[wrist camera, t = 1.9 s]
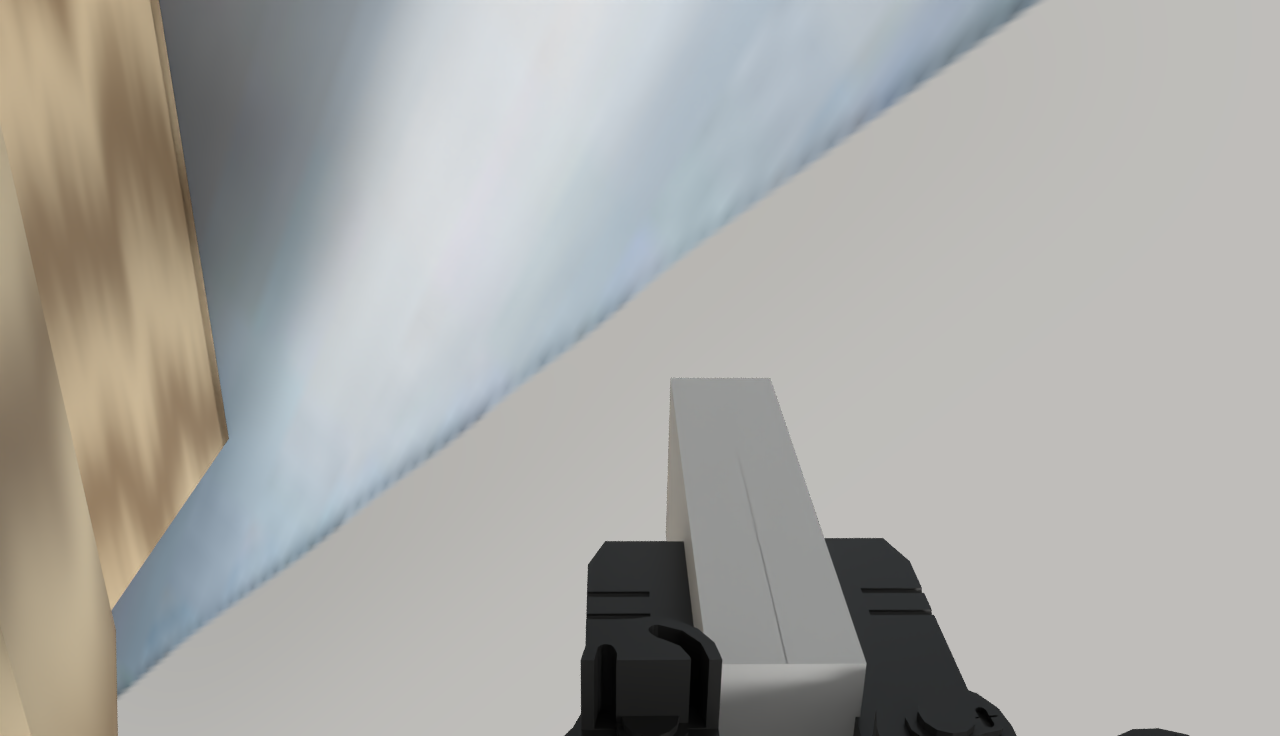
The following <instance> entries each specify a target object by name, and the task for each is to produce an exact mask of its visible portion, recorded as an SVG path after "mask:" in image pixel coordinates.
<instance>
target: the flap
mask: <svg viewBox="0 0 1280 736" xmlns="http://www.w3.org/2000/svg"><path fill="white" fill-rule="evenodd" d="M117 725H118V724H117V672H116V629H115V625H114V621H113V616H112V612H111V607H110V603H109V599H108V594H107V590H106V585H105V581H104V577H103V572H102V568H101V563H100V559H99V555H98V550H97V546H96V541H95V537H94V533H93V528H92V524H91V519H90V515H89V511H88V506H87V502H86V497H85V493H84V489H83V484H82V480H81V475H80V471H79V467H78V462H77V458H76V453H75V449H74V445H73V440H72V436H71V431H70V427H69V423H68V418H67V414H66V409H65V405H64V401H63V396H62V392H61V387H60V383H59V379H58V374H57V370H56V365H55V361H54V357H53V352H52V348H51V343H50V339H49V335H48V330H47V326H46V321H45V317H44V313H43V308H42V304H41V299H40V295H39V291H38V286H37V282H36V277H35V273H34V269H33V264H32V260H31V255H30V251H29V247H28V242H27V238H26V233H25V229H24V225H23V220H22V216H21V211H20V207H19V203H18V198H17V194H16V189H15V185H14V181H13V176H12V172H11V167H10V163H9V159H8V154H7V150H6V145H5V141H4V137H3V132H2V128H1V124H0V736H118V728H117V727H118V726H117Z"/></svg>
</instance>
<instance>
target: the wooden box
mask: <svg viewBox="0 0 1280 736" xmlns="http://www.w3.org/2000/svg"><path fill="white" fill-rule="evenodd" d="M0 124H1V128H2V132H3V137H4V141H5V145H6V150H7V154H8V159H9V163H10V167H11V172H12V176H13V181H14V185H15V189H16V194H17V198H18V203H19V207H20V211H21V216H22V220H23V225H24V229H25V233H26V238H27V242H28V247H29V251H30V255H31V260H32V264H33V269H34V273H35V277H36V282H37V286H38V291H39V295H40V299H41V304H42V308H43V313H44V317H45V321H46V326H47V330H48V335H49V339H50V343H51V348H52V352H53V357H54V361H55V365H56V370H57V374H58V379H59V383H60V387H61V392H62V396H63V401H64V405H65V409H66V414H67V418H68V423H69V427H70V431H71V436H72V440H73V445H74V449H75V453H76V458H77V462H78V467H79V471H80V475H81V480H82V484H83V489H84V493H85V497H86V502H87V506H88V511H89V515H90V519H91V524H92V528H93V533H94V537H95V541H96V546H97V550H98V555H99V559H100V563H101V568H102V572H103V577H104V581H105V585H106V590H107V594H108V599H109V603H110V607H111V610H112V609H113V607H114V606H115V604H116V603H117V601H118V600H119V598H120V597H121V595H122V594H123V593H124V591H125V590H126V588H127V587H128V585H129V584H130V582H131V581H132V579H133V578H134V576H135V575H136V574H137V572H138V571H139V569H140V568H141V566H142V565H143V563H144V562H145V560H146V559H147V557H148V556H149V555H150V553H151V552H152V550H153V549H154V547H155V546H156V544H157V543H158V541H159V540H160V538H161V537H162V536H163V534H164V533H165V531H166V530H167V528H168V527H169V525H170V524H171V522H172V521H173V519H174V518H175V517H176V515H177V514H178V512H179V511H180V509H181V508H182V506H183V505H184V503H185V502H186V500H187V499H188V498H189V496H190V495H191V493H192V492H193V490H194V489H195V487H196V486H197V484H198V483H199V481H200V480H201V479H202V477H203V476H204V474H205V473H206V471H207V470H208V468H209V467H210V465H211V464H212V462H213V461H214V460H215V458H216V457H217V455H218V454H219V452H220V451H221V449H222V448H223V446H224V445H225V443H226V442H227V441H228V439H229V437H228V431H227V425H226V419H225V412H224V406H223V400H222V394H221V387H220V381H219V375H218V368H217V362H216V356H215V350H214V343H213V337H212V331H211V325H210V318H209V312H208V306H207V300H206V293H205V287H204V281H203V274H202V268H201V262H200V256H199V249H198V243H197V237H196V231H195V224H194V218H193V212H192V206H191V199H190V193H189V187H188V180H187V174H186V168H185V162H184V155H183V149H182V143H181V137H180V130H179V124H178V118H177V112H176V105H175V99H174V93H173V86H172V80H171V74H170V68H169V61H168V55H167V49H166V43H165V36H164V30H163V24H162V18H161V11H160V5H159V0H0Z"/></svg>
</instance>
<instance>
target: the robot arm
mask: <svg viewBox="0 0 1280 736" xmlns="http://www.w3.org/2000/svg"><path fill="white" fill-rule="evenodd" d="M666 540H667V541H624V542H623V541H621V542H620V541H605V543H604V544H603V545H602V546H601V548H600V549H599V551H598V552H597V553H596V555H595V556H594V557H593V559H592V560H591V561H590V563H589V564H588V582H587V583H588V584H587V619H586V646H585V650H584V652H583V655H582V658H581V715H580V716H579V718H578V720H577V721H576V723H575V725H574V727H573V728H572V729H571V730H570V731H569V732H568V733H567V734H566V735H565V736H1016V734H1015V732H1014V729H1013V727H1012V726H1011V724H1010V723H1009V722H1008V720H1007V719H1006V718H1005V716H1004V715H1003V714H1002V713H1001V711H1000V710H999V709H998V708H997V707H996V706H994V705H993V704H991V703H990V702H989V701H987V700H986V699H984V698H982V697H981V696H979V695H978V694H977V693H974V692H971V691H969V690H968V689H967V687H966V684H965V682H964V680H963V678H962V676H961V674H960V671H959V669H958V667H957V665H956V662H955V660H954V658H953V656H952V654H951V651H950V649H949V647H948V645H947V643H946V640H945V638H944V636H943V634H942V632H941V629H940V627H939V625H938V623H937V620H936V618H935V616H934V615H932V613H931V607H930V605H929V603H928V601H927V598H926V596H925V594H924V593H922V588H921V585H920V583H919V581H918V579H917V577H916V574H915V572H914V570H913V568H912V566H911V563H910V561H909V560H908V559H906V558H905V557H904V556H903V555H902V554H900V553H899V552H898V551H897V550H896V549H895V548H893V547H892V546H891V545H890V544H889V543H888V542H887V541H886V540H884V539H883V538H824V536H823V533H822V530H821V527H820V524H819V521H818V518H817V515H816V512H815V509H814V506H813V503H812V500H811V498H810V494H809V491H808V489H807V486H806V483H805V480H804V477H803V474H802V471H801V468H800V465H799V462H798V459H797V456H796V453H795V450H794V447H793V444H792V441H791V438H790V435H789V432H788V429H787V426H786V423H785V420H784V417H783V414H782V411H781V409H780V405H779V402H778V400H777V396H776V394H775V391H774V388H773V385H772V382H771V379H770V378H671V384H670V417H669V449H668V483H667V516H666ZM1118 736H1189V735H1186V734H1182V733H1177V732H1173V731H1168V730H1163V729H1159V728H1156V729H1132V730H1130V731H1128V732H1126V733H1123V734H1121V735H1118Z"/></svg>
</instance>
